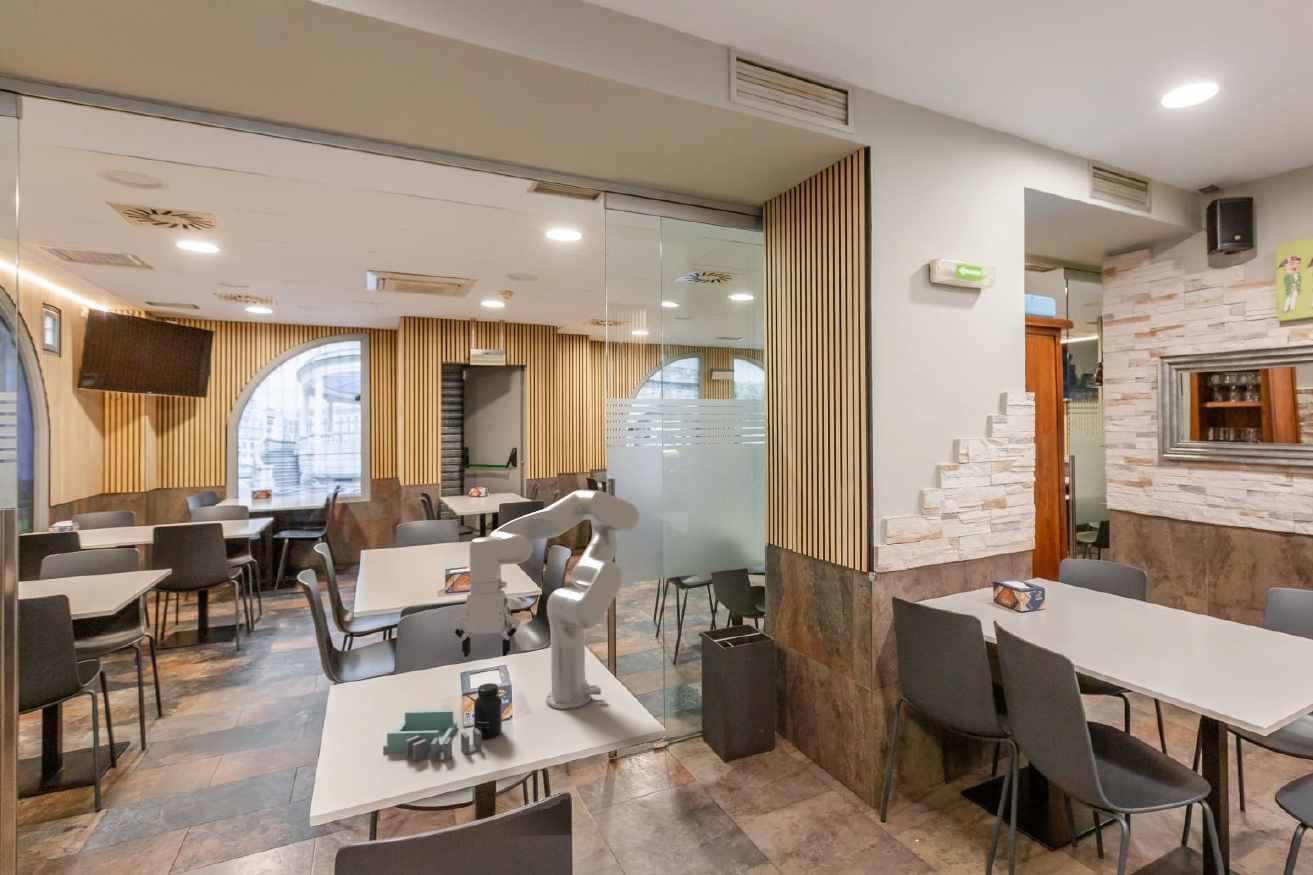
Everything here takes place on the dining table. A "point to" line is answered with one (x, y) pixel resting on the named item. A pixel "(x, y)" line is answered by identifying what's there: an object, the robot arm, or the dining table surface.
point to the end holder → (421, 722)
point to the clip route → (418, 748)
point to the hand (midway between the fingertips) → (486, 654)
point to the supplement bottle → (488, 711)
